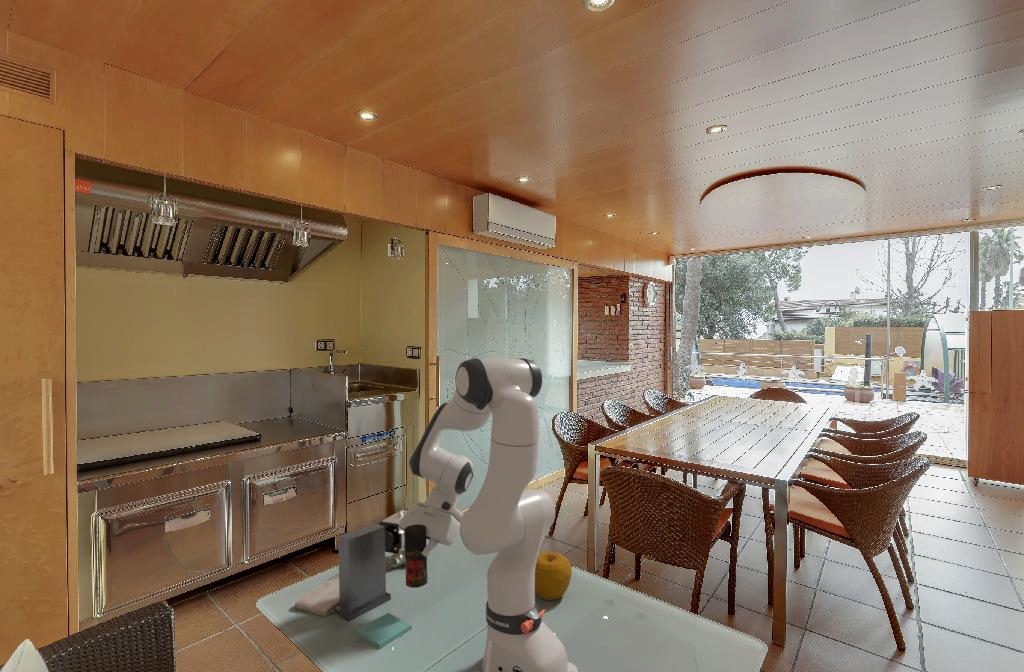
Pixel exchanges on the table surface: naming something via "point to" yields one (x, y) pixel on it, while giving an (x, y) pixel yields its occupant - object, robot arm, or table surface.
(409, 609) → the table surface
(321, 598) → the washcloth
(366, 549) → the block
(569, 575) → the apple
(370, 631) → the plate
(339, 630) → the table surface
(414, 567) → the deodorant
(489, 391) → the robot arm
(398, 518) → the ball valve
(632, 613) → the table surface
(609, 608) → the table surface
